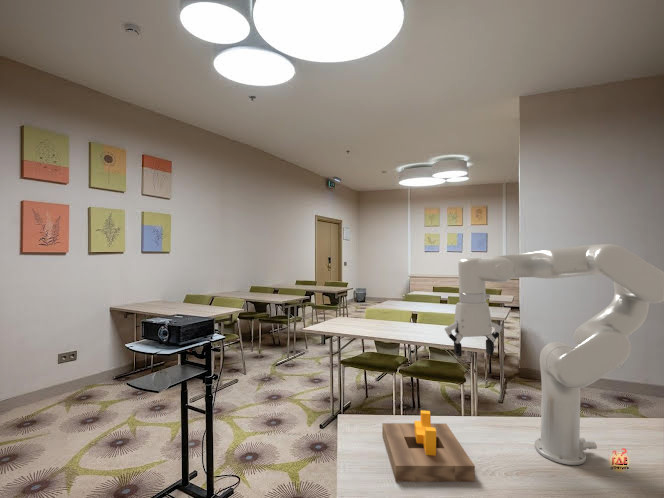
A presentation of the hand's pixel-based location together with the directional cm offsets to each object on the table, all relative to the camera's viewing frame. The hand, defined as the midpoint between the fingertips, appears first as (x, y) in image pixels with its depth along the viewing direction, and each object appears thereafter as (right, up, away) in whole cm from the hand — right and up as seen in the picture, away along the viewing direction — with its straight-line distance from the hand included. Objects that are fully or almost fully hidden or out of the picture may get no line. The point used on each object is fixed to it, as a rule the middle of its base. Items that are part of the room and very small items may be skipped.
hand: (474, 354), depth 111 cm
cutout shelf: (-17, -26, -8) cm, 33 cm away
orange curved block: (-17, -23, -8) cm, 30 cm away
